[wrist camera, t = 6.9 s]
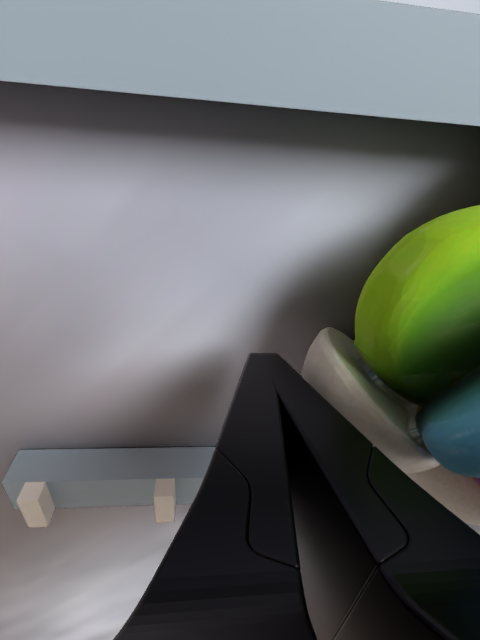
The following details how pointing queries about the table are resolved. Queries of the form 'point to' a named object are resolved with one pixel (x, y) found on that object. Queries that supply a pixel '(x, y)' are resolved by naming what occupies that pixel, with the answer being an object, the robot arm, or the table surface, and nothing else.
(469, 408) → the multicoloured petal shapes
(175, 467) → the rail
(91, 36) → the rail
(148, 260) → the table surface
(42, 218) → the table surface
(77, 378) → the table surface
